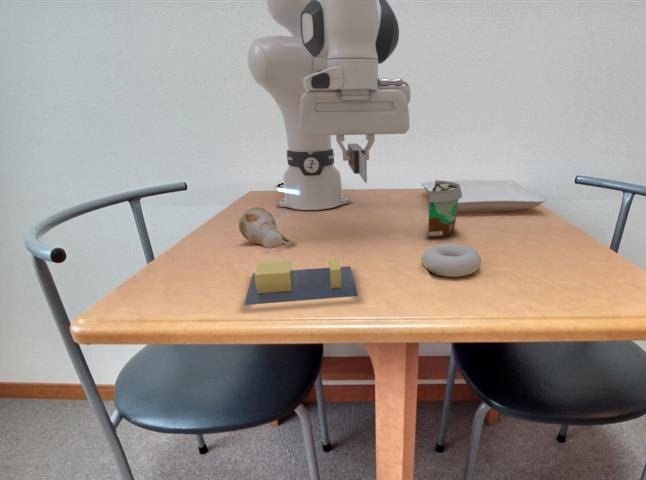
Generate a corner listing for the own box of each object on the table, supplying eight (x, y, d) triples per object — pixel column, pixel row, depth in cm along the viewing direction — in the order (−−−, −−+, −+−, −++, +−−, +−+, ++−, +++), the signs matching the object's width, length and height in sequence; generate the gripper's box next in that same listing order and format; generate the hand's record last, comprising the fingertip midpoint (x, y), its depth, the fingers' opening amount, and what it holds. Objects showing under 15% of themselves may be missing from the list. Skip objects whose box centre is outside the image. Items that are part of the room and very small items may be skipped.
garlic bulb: (262, 258, 80) (236, 209, 79) (255, 264, 89) (231, 220, 88) (298, 241, 83) (272, 193, 82) (287, 249, 92) (264, 206, 91)
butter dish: (253, 278, 71) (250, 255, 69) (350, 271, 73) (349, 249, 72) (244, 311, 60) (240, 285, 59) (358, 302, 63) (357, 276, 61)
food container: (457, 243, 87) (461, 192, 82) (427, 241, 88) (429, 191, 83) (460, 225, 97) (463, 180, 93) (433, 224, 99) (435, 179, 94)
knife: (348, 164, 88) (347, 143, 87) (358, 164, 89) (357, 143, 87) (359, 183, 70) (359, 157, 68) (372, 182, 70) (371, 156, 68)
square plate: (510, 191, 130) (512, 178, 128) (544, 215, 105) (547, 199, 103) (420, 193, 129) (421, 179, 127) (433, 217, 104) (434, 201, 102)
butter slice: (330, 275, 69) (329, 258, 68) (339, 275, 69) (338, 257, 68) (331, 288, 65) (330, 269, 63) (341, 287, 65) (340, 269, 64)
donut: (411, 273, 73) (466, 284, 68) (411, 254, 71) (468, 263, 66) (436, 256, 80) (488, 264, 75) (437, 238, 79) (490, 245, 74)
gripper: (407, 78, 81) (405, 156, 87) (295, 79, 78) (302, 159, 84) (414, 78, 75) (412, 160, 81) (295, 78, 72) (302, 164, 78)
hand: (355, 160), depth 83 cm, fingers closed on knife, 2 cm apart
